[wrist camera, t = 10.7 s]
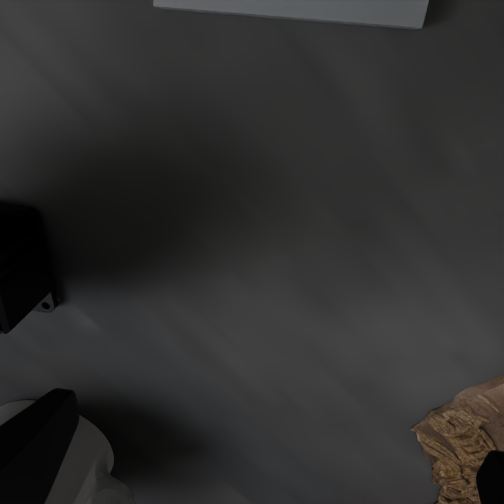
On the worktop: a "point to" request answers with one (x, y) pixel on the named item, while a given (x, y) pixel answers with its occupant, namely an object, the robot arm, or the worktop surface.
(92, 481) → the coffee mug
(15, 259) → the robot arm
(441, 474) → the wooden fragment
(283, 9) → the grey cradle stand
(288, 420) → the worktop surface
